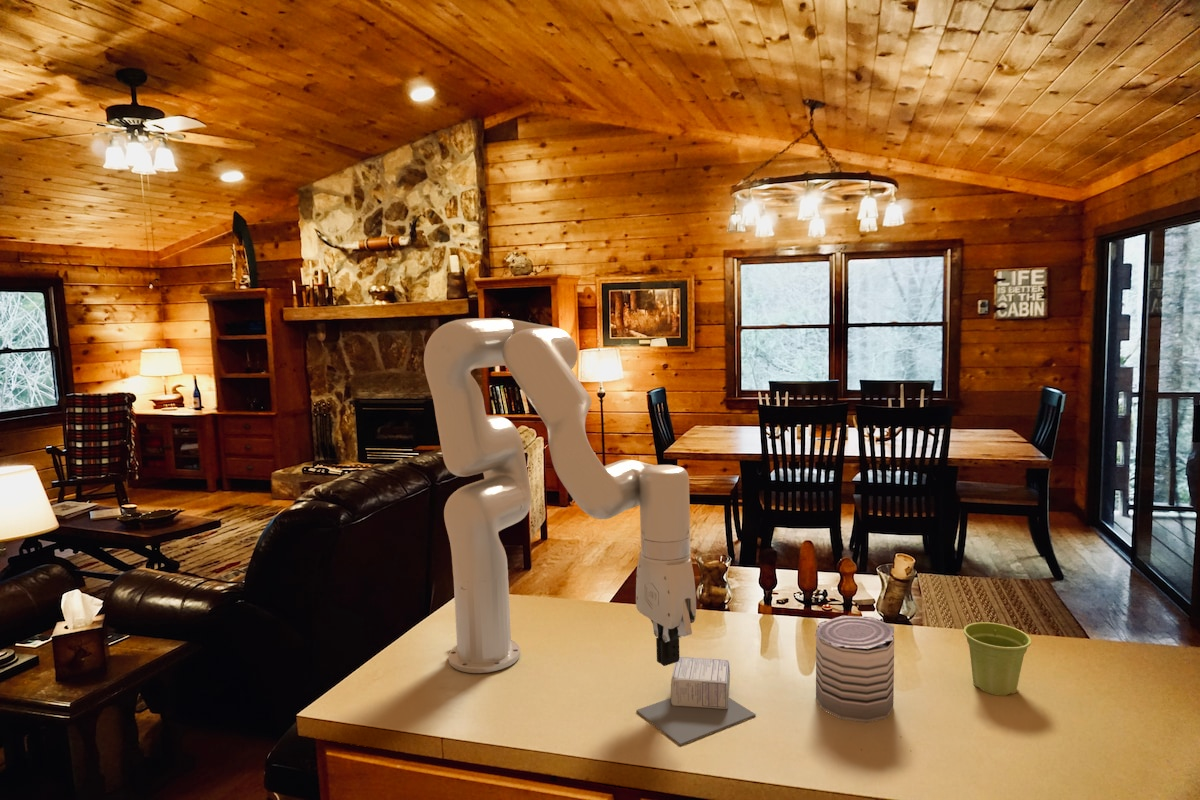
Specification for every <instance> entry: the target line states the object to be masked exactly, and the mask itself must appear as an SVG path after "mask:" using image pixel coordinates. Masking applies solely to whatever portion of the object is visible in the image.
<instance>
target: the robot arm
mask: <svg viewBox="0 0 1200 800" xmlns="http://www.w3.org/2000/svg"><path fill="white" fill-rule="evenodd" d="M423 352H424V353H423V354H424V355H423V366H424V368H423V369H424V373H425V376H426V380H427V383H428V386H429V390H430V394H431V397H432V400H433V406H434V413H435V420H436V425H437V431H438V436H439V442H440V443H439V444H440V448H441V453H442V457H443V462H444V465H445V467H446V469H447V471H448V472H450V473H451V474H452V475H454V476H456V477H470V476H474V475H475V476H476V475H479V474H483V479H480V480H478V481H475V482H474V481H473V482H472V483H469V484H465V485H464V486H461V487H459V488H457V490H456V491H454V492H453V493H452V494H450V496H449V497H448V498H447V501H446V502H445V506H444V509H443V518H444V523H445V528H446V531H447V535H448V540H449V543H450V544H449V545H450V552H451V564H452V577H453V590H454V591H453V593H454V595H453V596H454V610H455V611H454V612H455V630H456V631H455V632H456V645H455V646H453V648H452V649H451V650H450V651H449V653H448V662H449V665H450V667H452V668H454V669H455V670H457V671H460V672H463V673H470V674H487V673H493V672H498V671H501V670H504V669H507V668H509V667H510V666H512V665H513V664H515V663H516V662H517V661H518V660H519V658H520V657H521V648H520V645H519V644H518V643H517V642H516V641H514V640H513V639H512V636H511V635H512V632H511V613H510V612H511V611H510V610H511V608H510V590H509V589H510V588H509V586H510V585H509V569H508V567H509V565H508V557H507V554H506V550H505V547H504V546H503V545H504V544H503V543H502V541H501V539H500V536H499V532H501V531H502V530H504V529H506V528H508V527H511V526H513V525H515V524H517V523H519V522H521V521H522V520H523V519H525V518H526V516H527V515H528V513H529V511H530V510H531V509H530V508H531V506H532V505H531V504H532V489H531V484H530V478H529V472H528V467H527V461H526V455H525V454H526V453H525V448H524V444H523V441H522V440H523V439H522V437H521V434H520V432H519V431H518V428H517V427H516V426H515V424H514V423H513V422H512V421H510V420H509V419H508V418H506V417H504V416H500V415H487V413H486V407H485V400H484V395H483V393H482V389H481V388H480V386H479V384H478V382H477V381H476V379H475V378H474V376H473V375H472V374H471V372H472V371H473V370H475V369H483V368H484V369H485V368H492V367H493V368H494V367H501V366H504V367H506V369H507V371H508V372H509V373H510V374H511V376H512V378H513V379H514V380H515V382H516V384H517V385H518V387H519V388H520V390H521V391H522V392H523V395H525V397H526V398H527V400H528V402H529V403H530V404H531V406H532V408H534V410H535V411H536V413H537V415H538V417H540V419H541V420H542V422H543V423H544V426H545V427H546V429H547V442H548V443H547V444H548V449H549V453H550V457H551V458H550V459H551V462H552V465H553V469H554V471H555V473H556V475H557V478H559V480H560V482H561V483H562V485H563V487H564V488H565V489H566V491H567V492H568V494H569V495H570V497H571V499H573V501H574V503H576V505H577V506H578V507H579V508H580V510H582V511H583V512H584V513H585V514H587V515H588V516H590V517H591V518H593V519H597V520H608V519H611V518H613V517H616V516H618V515H620V514H622V513H623V512H625V511H627V510H630V509H632V508H636V507H639V519H640V521H639V522H640V525H639V526H640V552H639V555H638V560H637V566H636V567H637V568H636V579H635V581H636V582H635V583H636V584H635V604H636V605H635V607H636V609H637V611H638V612H639V613H640V614H642V615H643V616H644V617H646V618H648V619H649V620H650V622H651V624H652V628H653V634H654V636H655V637H656V638H655V639H656V645H655V646H656V662H657V663H658V664H660V665H661V666H663V667H665V666H666V667H667V666H669V665H673V664H675V663H676V662H678V661H679V659H680V657H681V656H680V639H681V638H682V637H688V636H690V635H692V634H693V630H692V625H691V624H693V623H695V621H696V618H697V617H696V616H697V596H696V595H697V594H696V584H695V583H696V582H695V576H694V575H695V574H694V569H693V563H692V559H691V551H692V550H691V517H690V516H691V513H690V512H691V509H690V508H691V506H690V477H689V473H688V471H687V469H685V468H684V467H681V466H680V465H679V466H678V465H673V464H657V465H656V464H655V465H654V464H651V463H647V462H643V461H639V460H636V459H627V458H626V459H620V460H617V461H615V462H612V463H609V464H606V465H604V464H603V463H602V462H601V460H600V459H599V457H598V456H597V454H596V453H595V451H594V450H593V448H592V447H591V444H590V441H589V439H588V436H587V432H586V419H587V415H588V414H589V410H591V409H590V408H591V406H592V397H591V395H590V394H589V392H588V391H587V390H586V389H585V387H584V386H583V384H582V383H581V381H580V379H579V378H578V377H577V375H576V374H575V373H574V372H573V370H572V369H574V367H575V365H576V364H577V360H578V355H579V354H578V348H577V345H576V342H575V341H574V338H572V336H571V335H570V334H569V333H568V332H567V331H565V330H564V329H561V328H559V327H556V326H550V325H545V324H538V323H533V322H528V321H524V320H517V319H514V318H513V319H511V318H504V317H502V318H501V317H492V318H491V317H489V318H486V317H485V318H479V317H478V318H461V319H455V320H451V321H448V322H446V323H444V324H442V325H441V326H439V327H438V328H437V329H435V330H434V331H433V333H432V334H431V336H430V337H429V339H428V341H427V343H426V345H425V349H424V351H423Z"/></svg>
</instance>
